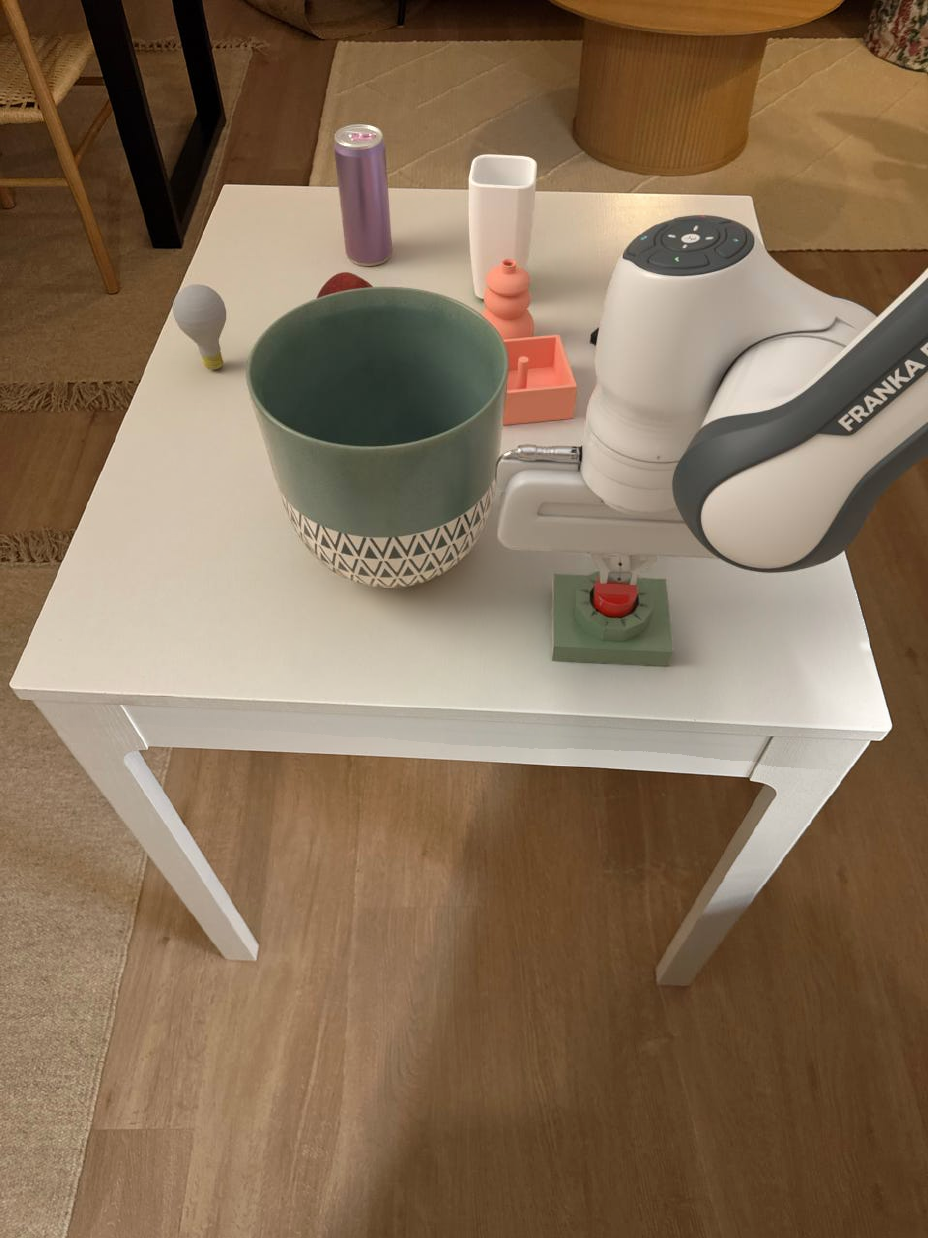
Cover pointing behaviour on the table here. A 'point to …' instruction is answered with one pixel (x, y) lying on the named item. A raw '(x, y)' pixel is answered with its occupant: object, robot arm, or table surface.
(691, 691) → the table surface
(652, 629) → the control block
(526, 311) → the pottery
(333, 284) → the apple
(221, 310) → the light bulb
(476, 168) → the cup
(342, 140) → the beverage can
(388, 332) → the planter
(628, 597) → the button
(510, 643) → the table surface
